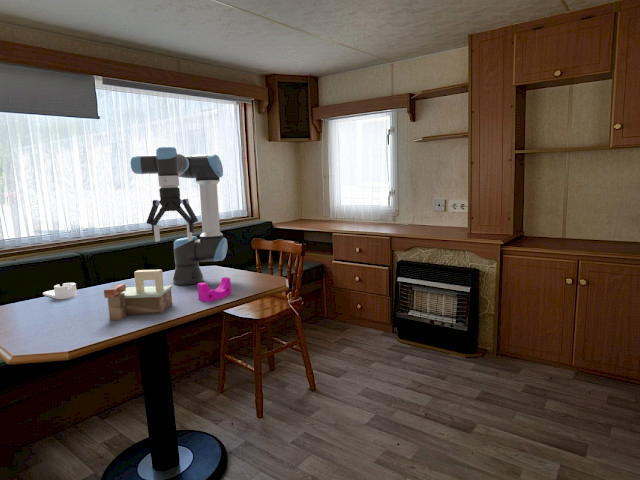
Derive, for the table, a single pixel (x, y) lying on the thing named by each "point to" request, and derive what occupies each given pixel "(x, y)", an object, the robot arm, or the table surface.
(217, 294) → the toy block
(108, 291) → the wooden key
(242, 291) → the table surface
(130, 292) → the lid
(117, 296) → the toolbox
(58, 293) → the bracket
